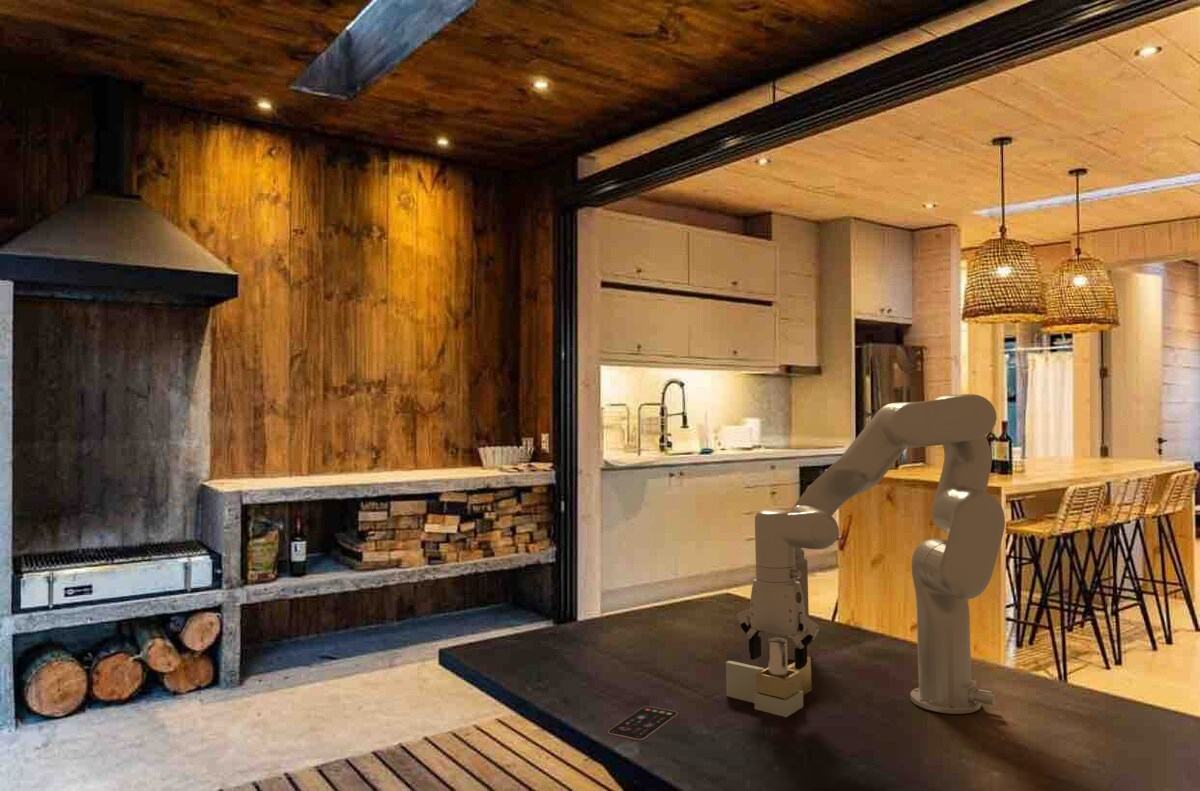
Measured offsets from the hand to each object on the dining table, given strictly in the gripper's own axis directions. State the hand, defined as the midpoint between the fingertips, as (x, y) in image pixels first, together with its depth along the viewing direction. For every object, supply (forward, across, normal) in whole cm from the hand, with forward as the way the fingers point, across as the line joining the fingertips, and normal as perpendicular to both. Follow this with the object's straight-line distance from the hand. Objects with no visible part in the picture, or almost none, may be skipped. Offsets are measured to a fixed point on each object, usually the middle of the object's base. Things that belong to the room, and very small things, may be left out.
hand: (777, 662), depth 156 cm
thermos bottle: (+9, +14, -32) cm, 36 cm away
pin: (+9, 0, 0) cm, 9 cm away
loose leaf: (+9, +4, 0) cm, 10 cm away
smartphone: (+9, +16, +22) cm, 29 cm away
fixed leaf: (+9, 0, -5) cm, 10 cm away
